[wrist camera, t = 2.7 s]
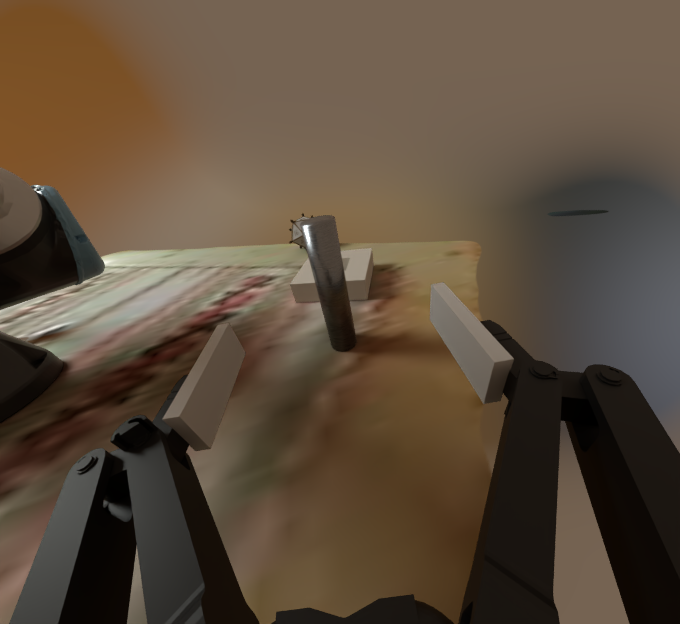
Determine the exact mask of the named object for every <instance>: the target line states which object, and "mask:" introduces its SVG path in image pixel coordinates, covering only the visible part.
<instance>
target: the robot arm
mask: <svg viewBox="0 0 680 624" xmlns="http://www.w3.org/2000/svg"><path fill="white" fill-rule="evenodd" d="M104 268H105V265H104V262H103V260H102V259H101V257H100V256H99V254H98V253H97V251H96V250H95V248H94V247H93V245H92V243H91V242H90V240H89V239H88V237H87V236H86V234H85V233H84V231H83V229H82V228H81V226H80V225H79V223H78V222H77V220H76V219H75V217H74V216H73V214H72V213H71V211H70V209H69V208H68V206H67V205H66V203H65V202H64V200H63V199H62V197H61V196H60V194H59V193H58V191H57V190H56V189H55V188H53V187H50V186H39V185H33V186H30V185H28V184H27V183H26V182H25V181H23V180H22V179H21V178H20V177H18V176H17V175H15V174H13V173H11V172H9V171H7V170H5V169H3V168H0V310H2V309H4V308H7V307H10V306H13V305H16V304H19V303H22V302H25V301H28V300H31V299H33V298H36V297H39V296H42V295H45V294H48V293H51V292H54V291H57V290H60V289H63V288H66V287H69V286H72V285H78V284H81V283H82V282H83V281H85V280H88V279H90V278H93V277H95V276H98V275H100V274H101V273H102V272H103V271H104ZM430 321H431V322H432V324H433V325H434V327H435V328H436V330H437V332H438V333H439V335H440V336H441V338H442V339H443V341H444V342H445V344H446V346H447V347H448V349H449V350H450V352H451V353H452V355H453V357H454V358H455V360H456V361H457V363H458V364H459V366H460V368H461V369H462V371H463V372H464V374H465V375H466V377H467V379H468V380H469V382H470V383H471V385H472V386H473V388H474V390H475V391H476V393H477V394H478V396H479V397H480V399H481V401H482V402H483V404H486V403H492V402H497V401H501V398H502V395H503V393H504V395H505V396H506V397H507V398H508V400H509V401H508V405H507V407H506V410H505V413H504V414H505V418H504V423H503V427H502V432H501V437H500V441H499V446H498V450H497V455H496V459H495V464H494V469H493V473H492V478H491V482H490V487H489V492H488V496H487V501H486V505H485V510H484V515H483V519H482V524H481V528H480V533H479V538H478V542H477V547H476V551H475V556H474V561H473V565H472V570H471V574H470V577H469V581H468V584H467V588H466V591H465V596H464V600H463V604H462V609H461V613H460V618H459V623H458V624H560V623H559V616H558V611H557V609H556V606H555V604H554V599H553V579H554V557H555V534H556V512H557V511H556V510H557V490H558V468H559V467H558V466H559V444H560V422H561V421H565V423H566V425H567V429H568V432H569V435H570V438H571V441H572V445H573V448H574V451H575V454H576V457H577V460H578V463H579V466H580V470H581V473H582V476H583V479H584V482H585V485H586V489H587V492H588V495H589V498H590V501H591V504H592V507H593V510H594V514H595V517H596V520H597V523H598V526H599V529H600V532H601V536H602V538H603V542H604V545H605V548H606V551H607V554H608V557H609V561H610V564H611V567H612V570H613V573H614V576H615V579H616V582H617V586H618V589H619V592H620V595H621V598H622V601H623V604H624V607H625V611H626V614H627V617H628V620H629V623H630V624H680V453H679V452H678V450H677V448H676V447H675V445H674V444H673V442H672V441H671V439H670V437H669V436H668V435H667V433H666V431H665V430H664V428H663V426H662V425H661V423H660V421H659V420H658V418H657V417H656V415H655V414H654V412H653V410H652V409H651V407H650V406H649V404H648V402H647V401H646V399H645V398H644V396H643V394H642V393H641V391H640V390H639V388H638V386H637V385H636V383H635V382H634V381H633V380H632V378H631V377H630V376H629V375H627V374H625V373H624V372H622V371H621V370H618V369H616V368H613V367H610V366H606V365H591V366H588V367H587V368H586V370H585V371H584V373H579V372H566V371H558V370H557V369H556V368H555V367H553V366H552V365H550V364H548V363H545V362H542V361H536V360H534V359H533V358H532V357H531V356H530V355H529V354H528V353H527V352H526V351H525V350H524V349H523V348H522V347H521V346H520V345H519V344H518V343H517V342H516V341H515V340H514V339H512V337H511V336H510V335H509V334H507V332H506V331H505V330H504V329H503V328H502V327H501V326H500V325H498V324H496V323H495V322H492V321H491V320H487V321H481V322H480V321H479V320H478V319H477V318H476V317H475V316H474V315H473V314H472V313H471V312H470V310H469V309H468V308H467V307H466V306H465V305H464V304H463V303H462V302H461V301H460V300H459V298H458V297H457V296H456V295H455V294H454V293H453V292H452V291H451V290H450V289H449V288H448V287H447V285H446V284H445V283H444V282H442V283H436V284H431V303H430ZM245 354H246V352H245V351H244V349H243V347H242V345H241V343H240V342H239V340H238V338H237V336H236V334H235V333H234V331H233V329H232V327H231V325H230V324H229V323H225V324H220V325H217V327H216V329H215V330H214V332H213V334H212V335H211V337H210V339H209V341H208V342H207V344H206V346H205V347H204V349H203V351H202V352H201V354H200V356H199V358H198V359H197V361H196V363H195V364H194V366H193V368H192V369H191V371H190V373H189V375H184V376H183V377H182V378H181V379H180V380H179V381H178V382H177V383H176V385H175V386H174V388H173V389H172V391H171V394H169V396H168V398H167V401H165V402H164V404H163V406H162V407H161V409H160V410H159V412H158V414H157V415H156V417H155V419H154V420H153V422H151V421H150V420H149V419H148V418H147V417H146V416H145V415H138V416H134V417H132V418H130V419H128V420H127V421H126V422H124V423H123V424H122V425H120V426H119V427H118V429H117V430H116V431H115V432H114V434H113V435H112V437H111V442H112V443H113V444H114V445H116V446H117V447H119V449H117V450H115V451H113V452H110V453H109V452H107V451H106V450H104V449H103V448H98V449H95V450H93V451H91V452H89V453H87V454H86V455H84V456H83V457H82V458H81V459H79V460H78V461H77V462H76V463H75V464H74V465H73V467H72V468H71V469H70V471H69V473H68V474H67V477H66V480H65V482H64V485H63V487H62V490H61V492H60V495H59V497H58V500H57V503H56V505H55V508H54V510H53V513H52V515H51V518H50V521H49V523H48V526H47V528H46V531H45V533H44V536H43V538H42V541H41V544H40V546H39V549H38V551H37V554H36V556H35V559H34V562H33V564H32V567H31V569H30V572H29V574H28V577H27V579H26V582H25V585H24V587H23V590H22V592H21V595H20V597H19V600H18V603H17V605H16V608H15V610H14V613H13V615H12V618H11V620H10V623H9V624H127V617H128V609H129V601H130V593H131V585H132V577H133V570H134V562H135V554H136V546H137V549H138V557H139V564H140V571H141V579H142V586H143V594H144V601H145V609H146V616H147V623H148V624H259V621H258V619H257V618H256V616H255V614H254V613H253V611H252V610H251V609H250V607H249V606H248V605H247V603H246V601H245V599H244V597H243V594H242V592H241V589H240V587H239V584H238V581H237V579H236V576H235V574H234V571H233V568H232V566H231V563H230V561H229V558H228V555H227V553H226V550H225V548H224V545H223V542H222V540H221V537H220V535H219V532H218V529H217V527H216V524H215V522H214V519H213V516H212V514H211V511H210V509H209V506H208V504H207V501H206V498H205V496H204V493H203V491H202V488H201V485H200V483H199V480H198V478H197V475H196V472H195V470H194V467H193V465H192V462H191V459H190V457H189V455H188V454H187V453H186V451H187V449H188V447H189V445H190V446H191V447H192V448H193V449H194V450H195V451H199V450H205V449H211V446H212V444H213V441H214V438H215V435H216V433H217V430H218V427H219V425H220V422H221V419H222V416H223V414H224V411H225V408H226V406H227V403H228V400H229V397H230V395H231V392H232V389H233V387H234V384H235V381H236V378H237V376H238V373H239V370H240V368H241V365H242V362H243V359H244V357H245ZM62 368H63V362H62V361H61V360H60V359H59V358H58V357H56V356H55V355H54V354H53V353H52V352H50V351H48V350H46V349H44V348H41V347H39V346H36V345H34V344H31V343H28V342H26V341H23V340H21V339H18V338H16V337H13V336H11V335H8V334H6V333H3V332H1V331H0V422H1V421H3V420H4V419H6V418H7V417H9V416H10V415H12V414H13V413H15V412H16V411H18V410H19V409H21V408H22V407H24V406H25V405H26V404H28V403H29V402H30V401H32V400H33V399H34V398H35V397H37V396H38V395H39V394H40V393H42V392H43V391H44V390H45V389H46V388H47V387H48V386H49V385H50V384H51V383H52V382H53V381H54V380H55V379H56V378H57V376H58V375H59V374H60V372H61V370H62ZM272 624H454V623H453V622H452V621H451V620H450V619H448V618H447V617H446V616H445V615H444V614H443V613H441V612H440V611H438V610H437V609H435V608H434V607H432V606H430V605H428V604H426V603H423V602H420V601H416V600H415V599H414V594H412V595H404V596H396V597H389V598H381V599H378V600H376V601H374V602H373V603H371V604H369V605H368V606H366V607H364V608H362V609H361V610H359V611H357V612H355V613H354V614H352V615H350V616H348V617H346V618H342V617H338V616H335V615H332V614H328V613H325V612H322V611H319V610H315V609H312V608H303V609H295V610H288V611H280V612H277V613H276V621H274V622H273V623H272Z"/></svg>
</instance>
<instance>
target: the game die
mask: <svg viewBox="0 0 680 624" xmlns="http://www.w3.org/2000/svg"><path fill="white" fill-rule="evenodd" d="M302 216H303V217H301V218H300V219H297V220H296V221H293V220H291V222H292V223H293V225H292V229H289V230H290V231H292V241H290V242H289V243H292V242H294V243H296V244H298V245H300V248H302V247H304V248H306V246H305V242H304V238H303V234H302V231H301V227H300V223H301V222H303V221H305V220H307V219H310V218H308V217H304V214H302ZM311 218H313V216H311Z"/></svg>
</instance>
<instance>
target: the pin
mask: <svg viewBox="0 0 680 624" xmlns="http://www.w3.org/2000/svg"><path fill="white" fill-rule="evenodd" d="M300 227H301V231H302V234H303V238H304V242H305V246H306V250H307V254H308V257H309V261H310V265H311V269H312V273H313V276H314V280H315V284H316V288H317V292H318V296H319V299H320V303H321V307H322V311H323V315H324V319H325V322H326V326H327V330H328V334H329V338H330V341H331V345H332V348H333V349H334V350H336V351H341V352H343V351H348V350H350V349H352V348H353V347H354V346H355V345H356V342H357V341H356V335H355V329H354V323H353V318H352V312H351V307H350V301H349V295H348V290H347V284H346V278H345V273H344V267H343V262H342V256H341V250H340V245H339V239H338V233H337V228H336V222H335V217H334V216H330V215H325V216H317V217H313V218H310V219H307V220H305V221H303V222H301V223H300Z"/></svg>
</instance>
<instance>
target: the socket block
mask: <svg viewBox="0 0 680 624" xmlns="http://www.w3.org/2000/svg"><path fill="white" fill-rule="evenodd" d="M341 256H342V262H343V267H344V273H345V278H346V284H347V290H348V295H349V300H367V299H368V294H369V288H370V283H371V277H372V272H373V267H374V263H373V253H372V248H368V249H357V250H346V251H341ZM290 286H291V289H292V292H293V295H294V298H295V301H296V302H320V299H319V296H318V292H317V288H316V284H315V280H314V276H313V273H312V269H311V265H310V261H309V258H308V259H307V260H306V262H305V263H304V265H303V266H302V268H301V269H300V270H299V272H298V273H297V275H296V276H295V278H294V279H293V280H292V282H291V283H290Z"/></svg>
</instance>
